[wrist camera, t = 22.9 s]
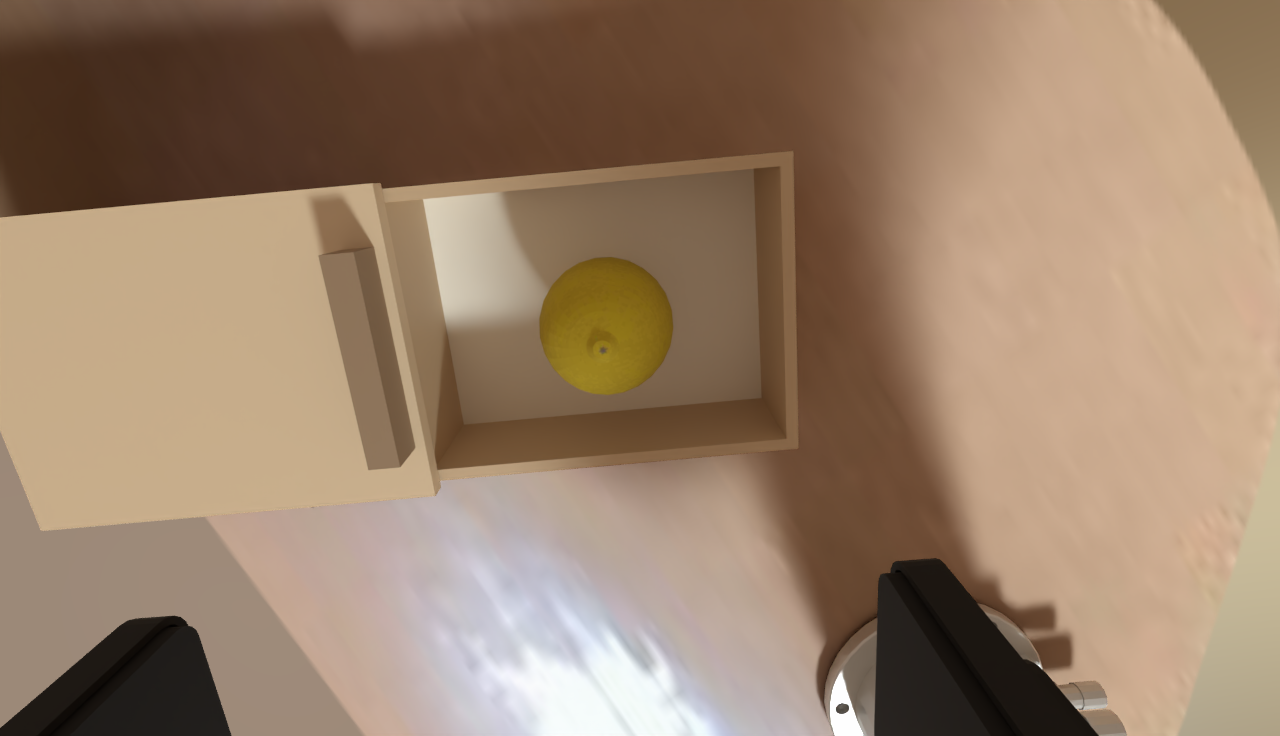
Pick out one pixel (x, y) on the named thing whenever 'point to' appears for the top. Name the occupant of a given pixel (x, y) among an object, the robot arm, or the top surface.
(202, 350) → the mailer lid
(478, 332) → the mailer box
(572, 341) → the lemon
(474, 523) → the top surface
